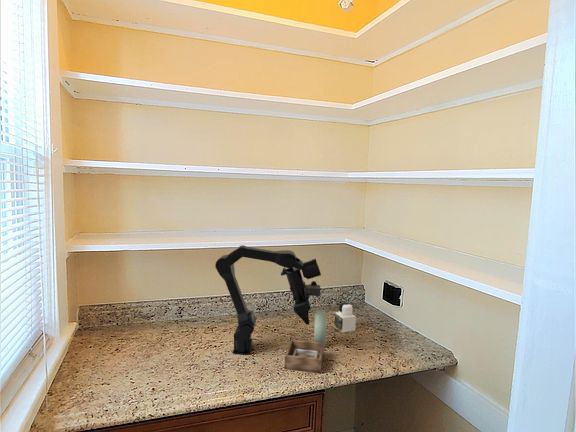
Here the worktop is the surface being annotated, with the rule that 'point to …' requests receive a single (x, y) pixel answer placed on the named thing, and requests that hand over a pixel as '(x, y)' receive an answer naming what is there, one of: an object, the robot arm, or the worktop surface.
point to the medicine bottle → (345, 318)
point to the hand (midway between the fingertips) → (307, 319)
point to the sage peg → (320, 327)
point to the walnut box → (304, 356)
